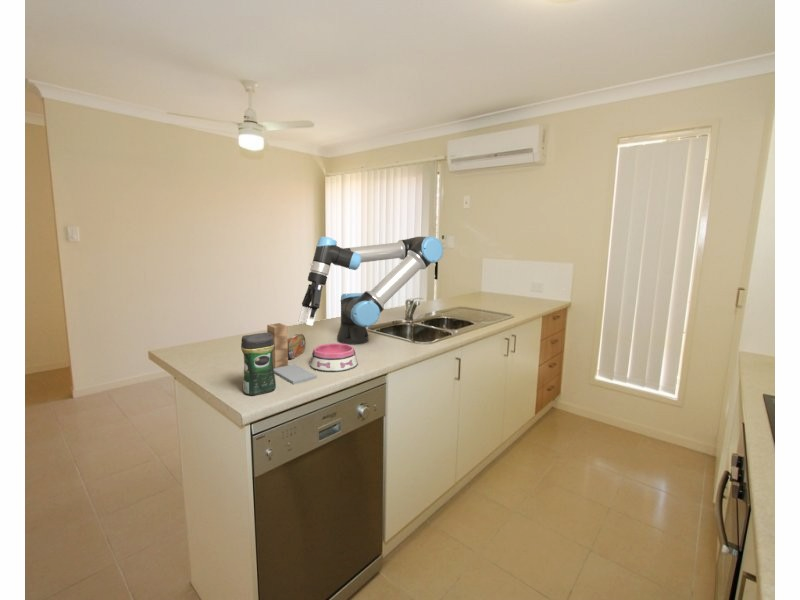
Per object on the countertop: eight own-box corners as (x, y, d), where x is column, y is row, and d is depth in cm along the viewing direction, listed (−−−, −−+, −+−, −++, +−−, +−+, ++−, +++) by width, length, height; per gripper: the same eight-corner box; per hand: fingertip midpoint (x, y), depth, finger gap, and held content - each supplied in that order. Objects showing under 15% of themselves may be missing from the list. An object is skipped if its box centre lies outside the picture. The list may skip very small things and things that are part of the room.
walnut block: (280, 363, 148) (279, 323, 146) (288, 367, 144) (287, 325, 142) (268, 365, 145) (267, 324, 142) (275, 369, 141) (274, 327, 138)
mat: (294, 366, 145) (294, 364, 145) (316, 378, 133) (316, 375, 133) (271, 371, 139) (271, 369, 138) (293, 384, 127) (293, 381, 127)
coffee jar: (269, 383, 128) (268, 329, 125) (278, 391, 122) (277, 334, 119) (239, 389, 122) (237, 333, 119) (247, 398, 116) (245, 338, 113)
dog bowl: (309, 358, 155) (309, 342, 154) (354, 356, 160) (354, 340, 159) (310, 374, 138) (309, 356, 137) (360, 371, 142) (361, 353, 141)
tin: (289, 361, 151) (289, 340, 149) (282, 360, 151) (281, 340, 150) (306, 351, 165) (306, 332, 164) (299, 350, 166) (299, 331, 165)
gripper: (303, 272, 168) (290, 318, 166) (317, 270, 145) (302, 324, 144) (319, 276, 171) (307, 322, 169) (336, 275, 149) (321, 328, 147)
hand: (305, 323), depth 156 cm, fingers open, 13 cm apart
